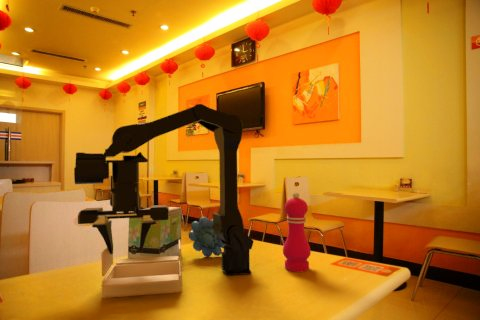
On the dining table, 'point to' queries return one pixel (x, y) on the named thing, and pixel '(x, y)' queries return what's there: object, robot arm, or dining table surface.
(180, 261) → the flap
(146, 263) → the carton
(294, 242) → the pepper mill
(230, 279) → the dining table surface
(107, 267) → the flap
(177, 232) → the tea box
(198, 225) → the blue succulent rosette
